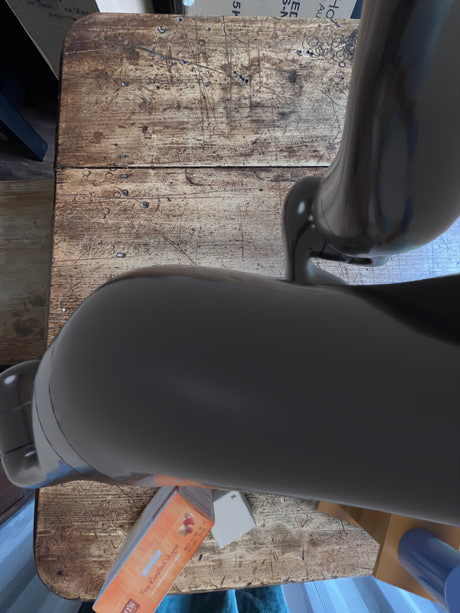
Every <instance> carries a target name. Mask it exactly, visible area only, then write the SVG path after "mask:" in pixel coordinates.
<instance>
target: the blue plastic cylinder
mask: <svg viewBox="0 0 460 613" xmlns="http://www.w3.org/2000/svg"><path fill="white" fill-rule="evenodd" d="M398 556H399V561H400V563H401V565H402V567H403V569H404V570H405V571H406V572H407V573H408V574H409V575H410V576H411V577H412V578H413V579H414V580H415V581H416V582H417V583H418V584H419V585H420V586H421V587H422V588H423V589H424V590H425V591H426V592H427V593H428V594H429V595H430V596H431V597H432V598H433V599H435V600H436V601H437V602H438V603H439V604H438V603H437V604H438V605H439V606H440V607H442V608H443V609H444V610H445V611H446V612H447V613H460V549H459V550H458V549H457V548H455V547H454V546H452V545H451V544H449V543H448V542H446V541H445V540H443V539H442V538H440V537H439V536H437V535H436V534H434V533H433V532H431V531H430V530H428V529H425V528H413V529H411V530H409V531H407V532H406V533H405V534H404V535H403V537H402V538H401V540H400V543H399V547H398Z"/></svg>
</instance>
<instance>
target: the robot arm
mask: <svg viewBox="0 0 460 613" xmlns="http://www.w3.org/2000/svg"><path fill="white" fill-rule="evenodd" d="M357 30H358V31H357V36H356V41H355V47H354V52H353V59H352V64H351V65H352V66H351V71H350V78H349V79H350V80H349V86H348V94H347V100H346V108H345V114H344V120H343V121H344V122H343V128H342V133H341V139H340V143H339V148H338V150H337V152H336V154H335V156H334V157H333V159H332V161H331V162H330V164H329V165H328V166H327V168H326V170H325V171H324V173H323V175H312V174H311V175H305V176H302V177H301V178H299V179H297V181H295V182H294V183H293V184H292V185H291V187H290V188H289V189H288V191H287V192H286V194H285V196H284V197H283V201H282V205H281V209H280V230H281V239H282V249H283V259H284V278H279V277H273V276H269V275H263V274H258V273H253V272H247V271H241V270H235V269H230V268H224V267H214V266H205V265H195V264H194V265H193V264H177V263H174V264H173V263H171V264H169V263H168V264H159V265H151V266H143V267H138V268H134V269H132V270H128V271H124V272H123V273H120V274H117V275H116V276H114V277H112V278H110V279H108V280H106V281H105V282H103V283H102V284H100V285H99V286H98V287H96V288H95V289H94V290H93V291H92V292H90V293H89V294H88V296H87V297H85V298H84V299H83V300H82V301H81V302H80V303H79V304H78V306H76V308H75V309H74V310H73V312H72V313H71V314H70V315H69V317H68V318H67V319H66V321H65V322H64V323H63V325H62V326H61V327H60V329H59V330H58V331H57V333H56V334H55V335H54V336H53V338H52V340H51V341H50V342H49V344H48V346H47V347H46V350H45V351H44V353H43V355H42V356H41V357H35V358H32V359H29V360H25V361H22V362H19V363H17V364H15V365H13V366H11V367H9V368H7V369H5V370H4V371H2V372H1V373H0V461H1V464H2V468H3V470H4V473H5V474H6V477H7V479H8V480H9V481H10V482H11V484H13V485H14V486H15V487H18V488H21V489H26V490H35V489H45V488H50V487H55V486H59V485H63V484H69V483H72V482H78V481H79V482H83V481H84V482H96V483H102V484H106V485H111V486H128V487H129V486H130V487H143V488H160V487H163V486H193V487H203V488H211V489H219V490H228V491H237V492H243V493H246V494H255V495H256V494H258V495H267V496H277V497H284V498H285V497H286V498H294V499H298V498H301V499H309V500H312V501H317V502H318V501H325V502H332V503H337V504H343V505H348V506H354V507H359V508H365V509H370V510H376V511H381V512H386V513H391V514H396V515H401V516H405V517H410V518H415V519H420V520H425V521H430V522H435V523H440V524H445V525H449V526H454V527H459V528H460V272H459V271H458V272H454V273H448V274H443V275H438V276H433V277H427V278H423V279H415V280H408V281H401V282H392V283H376V284H349V282H347V281H346V280H344V279H343V278H342V277H340V276H338V275H336V274H334V273H332V272H330V271H327V270H326V269H322V268H321V267H320V266H317V265H316V264H315V263H314V262H313V261H312V259H318V260H319V259H320V260H324V261H330V262H334V263H340V264H346V265H351V266H357V267H365V268H378V267H379V268H380V267H382V266H384V265H385V264H387V263H388V262H389V261H390V260H391V259H392V258H393V256H397V255H401V254H405V253H408V252H412V251H415V250H418V249H420V248H422V247H425V246H426V245H428V244H431V242H433V241H435V240H436V239H438V238H439V237H441V235H443V234H444V233H446V232H447V231H448V230H449V229H450V228H451V227H452V226H453V224H455V222H456V221H457V220H458V219H459V218H460V0H362V6H361V12H360V18H359V24H358V29H357ZM301 499H300V500H301Z"/></svg>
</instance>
